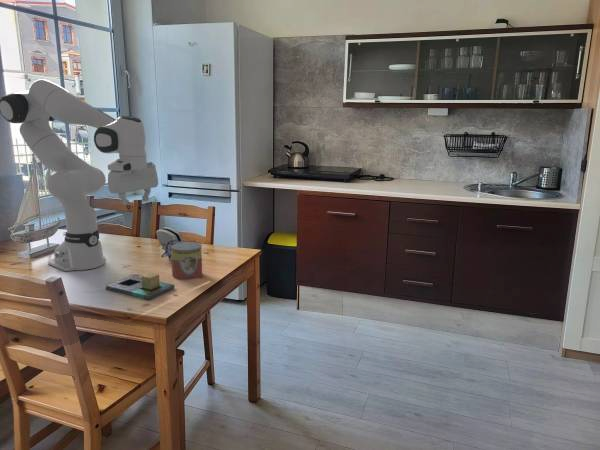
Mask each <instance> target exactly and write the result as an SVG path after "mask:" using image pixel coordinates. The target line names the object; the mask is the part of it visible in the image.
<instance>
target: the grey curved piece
mask: <svg viewBox="0 0 600 450" xmlns="http://www.w3.org/2000/svg"><path fill="white" fill-rule="evenodd" d="M155 234H156V238H157V240H158V243H159V244H160V245H162V244H163V245H164V242H166V243H167V242H169V241H171V239H172V238H173V237H174V238H175V239H176V241H178V242H179V241H181V240H184V239H183V236H182V234H181V232H179V231H177V230H176V229H174V228H171V227H167V226H166V227H165V226H164V227H161V228H159V229H158V230H156V232H155ZM164 246H165V245H164Z"/></svg>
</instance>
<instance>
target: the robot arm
mask: <svg viewBox="0 0 600 450" xmlns="http://www.w3.org/2000/svg"><path fill="white" fill-rule="evenodd" d="M0 115H1V116H2V117H3V118H4V119H5V121H7V122H8V123H10V124H20V127H19V134H20V135H21V138H22V139H23V141H24V142H25V143H26V145H27V147H29V150H30V151H31V152H32V153H33V155H35V157H36V158H37V159H38V160H39V161H40V162H41V164H42V165H43V166H44V168H46V169H48V170H50V171H53V172H54V173H53V174H51V175H50V176H49V177H48V179H47V181H46V182H47V183H46V186H47V191H48V193H49V194H50V195H51V196H52V197H53V198H54V199H56V200H57V201H58V202H59V205H60V206H61V207H62V210H63V213H64V218H65V226H66V231H65V232H62V234H63V235H62V236H64V240H63V242H61V243H60V244H59V245H58V246H56V248H55V249H54V258H52V259H50V260H48V261H47V263H48V265H50V266H52V267H55V268H57V269H59V270H61V271H64V272H71V271H86V270H93V269H95V268H99V267H101V266H103V265H104V264H105V263H106V262H105V261H106V257H105V256H104V252H103V248H102V242H101V240H99V239H100V230H99V229H98V220H97V212H96V209H94V208H93V207H92V206H90V204H89V203H88V200H87V196H89V195H93V194H96V193H98V192H99V191H101V190H103V188H104V187H105V186H106V183H107V189H108V191H109V192H110V193H111V194H118V197H119V198H120V200H121V204H122V206H128V205H129V204H130V203H129V202H130V200H129V199H127V197H126V196H127V193H129V192H135V191H141V190H143V192H144V193H143V195H141V196H142V197H141V200H142V202H147V201H149V200H150V195H151V192H152V190H151V189H152V188H157V187H158V185H159V178H158V173H157V169H156V164H155V163H153V162H152V161H149V162H147V153H146V151H145V150H146V149H145V147H146V136H145V135H146V132H145V127H144V123H143V122H142V120H141V119H140V118H138V117H135V116H129V115H121V116H118V117H117V119H116V118H114V117H113V116H110V115H108V114H107V113H105V112H104V111H102V110H99V109H97V108H96V107H94V106H93V105H91V104H89V103H87V102H86V101H83V100H82V99H81V98H80V97H78V96H76V95H74V94H73V93H71V92H70V91H68V90H67V89H65V88H64V87H62V86H60V85H59V84H57V83H55V82H52V81H50V80H47V79H43V78H41V79H36V80H35V81H33V82H32V83H31V84H30V86H29V89H26V90H23V91H19V92H14V93H8V94H5V95H4V96H2V97H1V98H0ZM54 121H58V122H61V123H63V124H69V125H70V124H71V125H81V126H87V127H93V128H95V129H96V130H95V132H94V135H93V141H94V146H95V147H96V149H97V150H98V151H99V152H101V153H103V154H118V155H119V158H117V159H116V160H114V161H112V162H110V163H108V164H107V170H108V171H109V172H108V173H107V179H106V175H105V173H104V172H103V171H102V169H100V168H98V167H95V166H93V165H91V164H89V163H88V162H86V161H84V160H83V159H82V158H80V157H79V156H78V155H77V154H75V153H74V152H73V151H72V150H71V149H70V148H69V147H68V146H67V144H65V143H64V141H63V140H62V139H61V137H60V136H59V135H58V134H57V133H56V132H55V131H54V130H53V129H52V127H51V125H50V122H54ZM106 181H107V182H106Z"/></svg>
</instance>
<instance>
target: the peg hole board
mask: <svg viewBox="0 0 600 450" xmlns="http://www.w3.org/2000/svg"><path fill="white" fill-rule="evenodd" d="M159 283H160V288H159V289H156V290H154V291H152V292H150V291H146V290H142V276H136V275H130V276H127V277H124V278H122V279H119V280H116V281H114V282H111V283H109V284H106V285H105V290H106V291H110V292H114V293H116V294H117V293H118V294H122V295H125V296H130V297H133V298H138V299H141V300H146V301H148V302H149V301H152V300H154V299H157V298H159V297H160V296H163V295H164V294H167V293H169V292H171V291H173V290H175V284H172V283H167V282H162V281H159Z"/></svg>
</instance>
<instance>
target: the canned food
mask: <svg viewBox="0 0 600 450" xmlns="http://www.w3.org/2000/svg"><path fill="white" fill-rule="evenodd" d="M202 256H203V255H202V244H201V243H199V242H196V241H184V242H180V243H176V244H173V245H171V257H172V262H171V271H172V275H171V276H172V277H173V278H174V279H176V280H184V281H185V280H186V281H187V280H193V279H198V278H202V277H203V263H202V262H203V261H202V260H203V258H202Z"/></svg>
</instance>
